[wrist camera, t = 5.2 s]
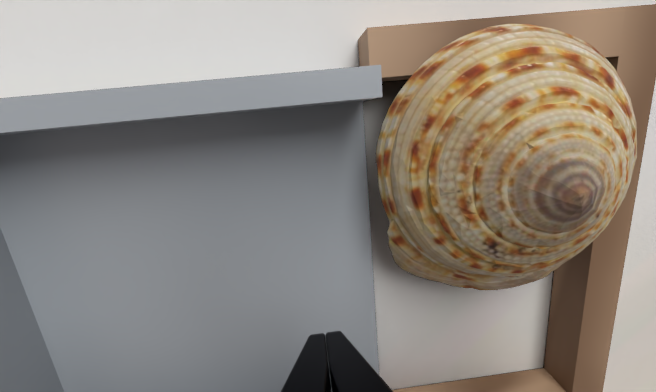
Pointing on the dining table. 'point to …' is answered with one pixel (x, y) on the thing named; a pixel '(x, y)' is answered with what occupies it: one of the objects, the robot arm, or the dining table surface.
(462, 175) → the seashell
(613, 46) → the cradle
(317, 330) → the tray
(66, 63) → the dining table surface
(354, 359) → the robot arm
